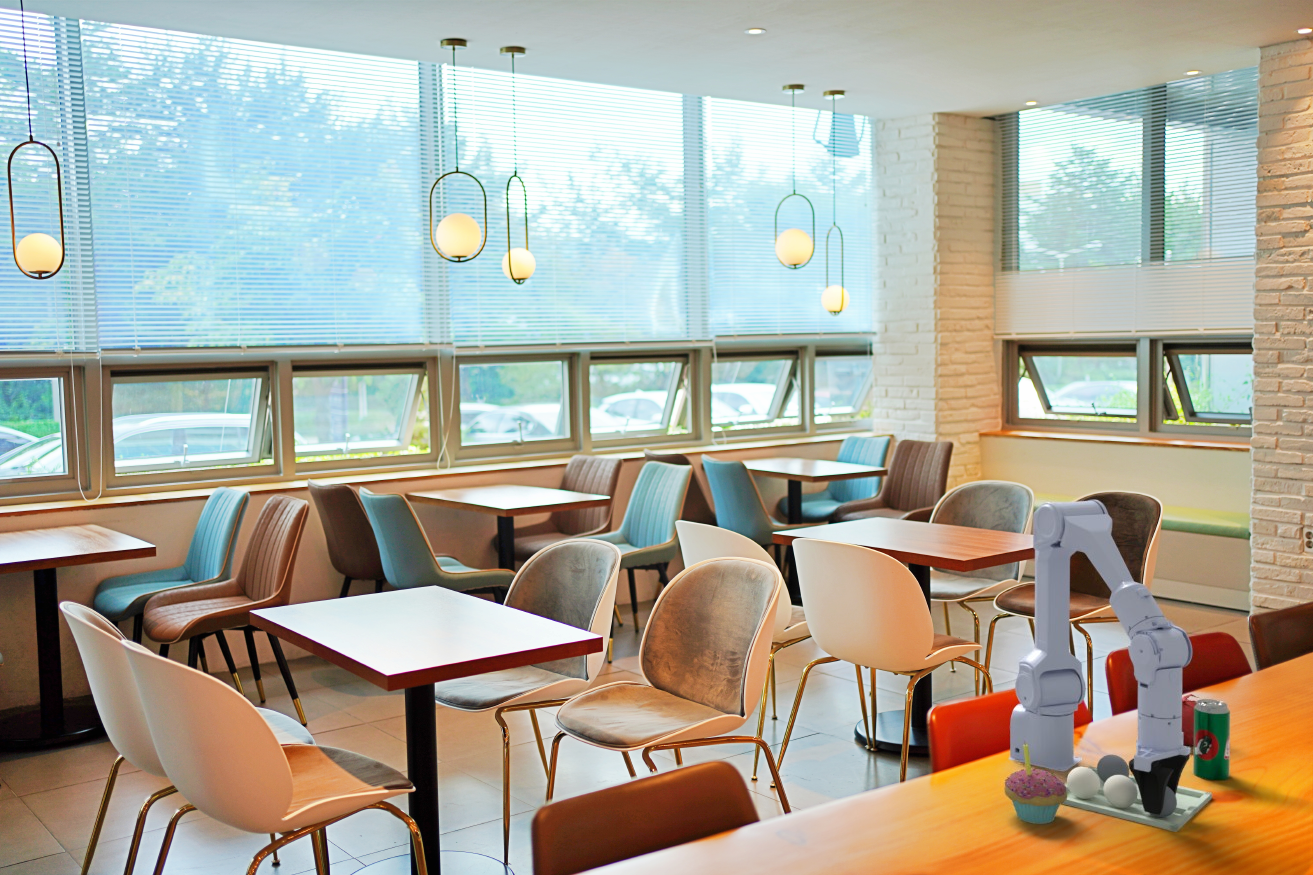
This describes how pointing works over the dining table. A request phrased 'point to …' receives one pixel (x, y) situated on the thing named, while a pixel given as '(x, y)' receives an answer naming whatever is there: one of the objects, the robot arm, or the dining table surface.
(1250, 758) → the dining table surface
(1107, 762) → the charcoal ball back
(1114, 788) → the cream ball middle
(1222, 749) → the soda can
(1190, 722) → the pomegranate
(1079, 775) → the cream ball left
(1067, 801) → the rack
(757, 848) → the dining table surface
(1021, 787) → the cupcake
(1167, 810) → the charcoal ball front
